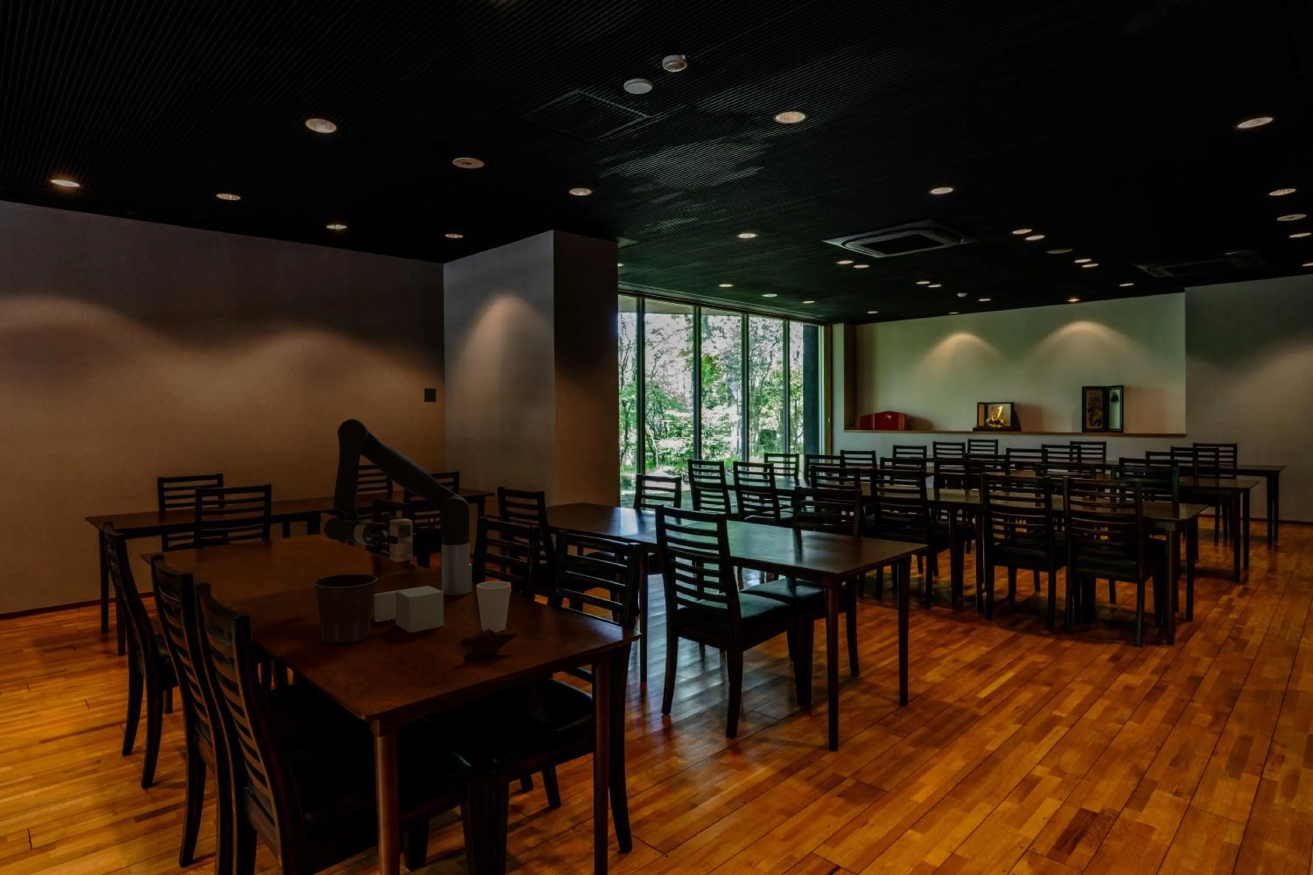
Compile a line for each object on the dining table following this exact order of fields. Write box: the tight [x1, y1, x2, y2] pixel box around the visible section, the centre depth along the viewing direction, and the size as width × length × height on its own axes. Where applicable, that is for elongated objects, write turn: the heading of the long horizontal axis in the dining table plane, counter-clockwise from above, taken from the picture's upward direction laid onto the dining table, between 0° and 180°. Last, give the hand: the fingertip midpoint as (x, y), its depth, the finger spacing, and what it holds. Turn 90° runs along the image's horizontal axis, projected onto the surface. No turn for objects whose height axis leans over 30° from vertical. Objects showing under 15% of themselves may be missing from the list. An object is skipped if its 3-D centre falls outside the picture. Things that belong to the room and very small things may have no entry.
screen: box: [374, 585, 425, 623], centre depth 218 cm, size 16×2×8 cm, turn 132°
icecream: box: [459, 629, 518, 662], centre depth 183 cm, size 7×7×15 cm
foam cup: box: [476, 580, 512, 632], centre depth 204 cm, size 10×9×13 cm
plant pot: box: [312, 573, 378, 645], centre depth 196 cm, size 16×16×16 cm
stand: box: [395, 585, 445, 634], centre depth 208 cm, size 10×10×10 cm
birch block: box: [389, 518, 414, 563], centre depth 217 cm, size 5×5×12 cm
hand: (406, 538), depth 216 cm, fingers closed on birch block, 6 cm apart
